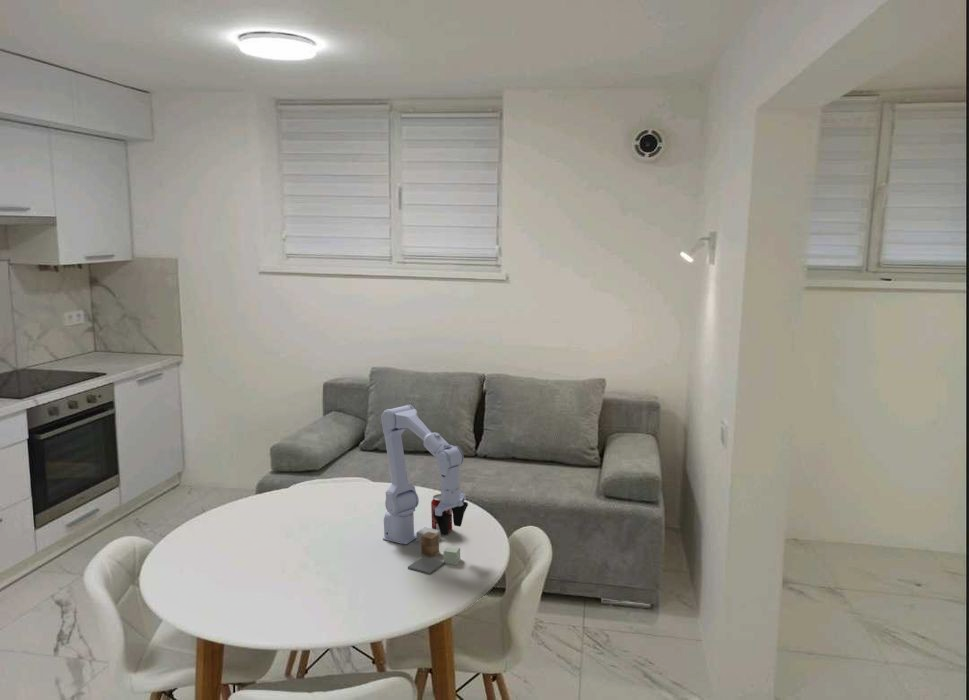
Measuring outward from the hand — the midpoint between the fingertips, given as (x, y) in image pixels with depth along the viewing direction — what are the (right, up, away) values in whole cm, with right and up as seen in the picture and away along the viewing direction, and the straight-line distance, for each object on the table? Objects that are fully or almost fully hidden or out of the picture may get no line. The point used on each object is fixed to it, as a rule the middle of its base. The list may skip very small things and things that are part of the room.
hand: (451, 530), depth 225 cm
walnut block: (-7, -9, +7) cm, 13 cm away
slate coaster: (-7, -10, -2) cm, 13 cm away
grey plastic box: (-8, -8, +17) cm, 20 cm away
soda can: (-4, -6, +24) cm, 25 cm away
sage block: (0, -10, +1) cm, 10 cm away
